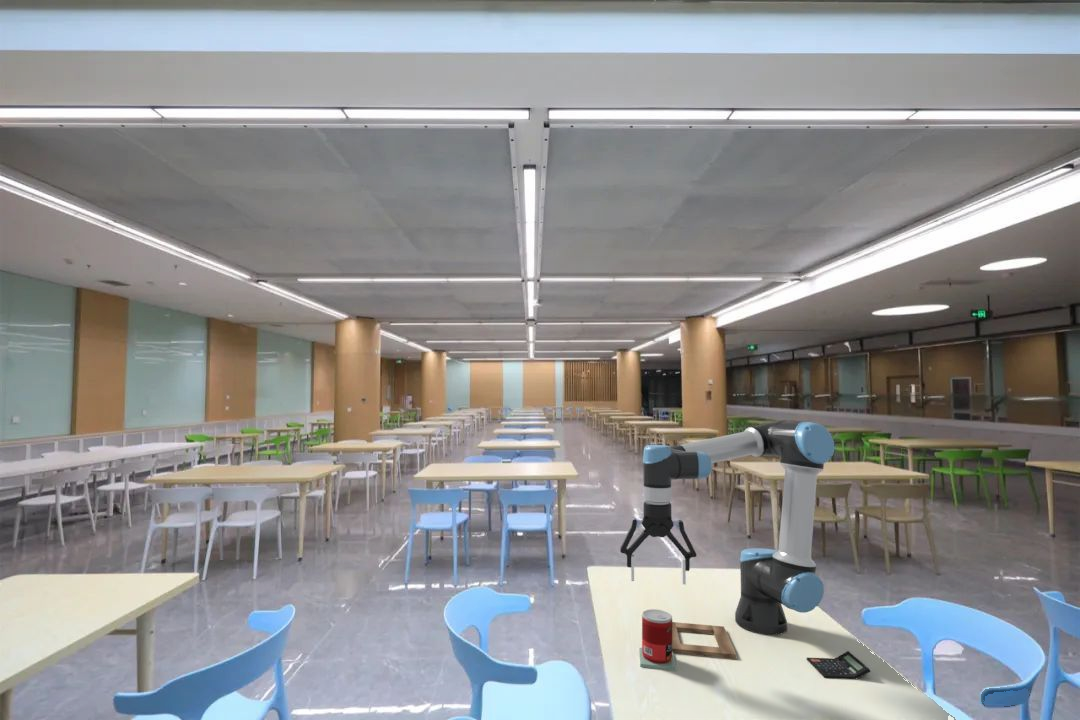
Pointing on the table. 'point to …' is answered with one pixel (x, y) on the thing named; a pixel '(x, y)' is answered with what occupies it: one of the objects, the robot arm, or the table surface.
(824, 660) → the calculator
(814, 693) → the table surface
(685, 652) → the pocket board
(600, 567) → the table surface
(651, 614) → the canned food
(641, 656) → the plate
